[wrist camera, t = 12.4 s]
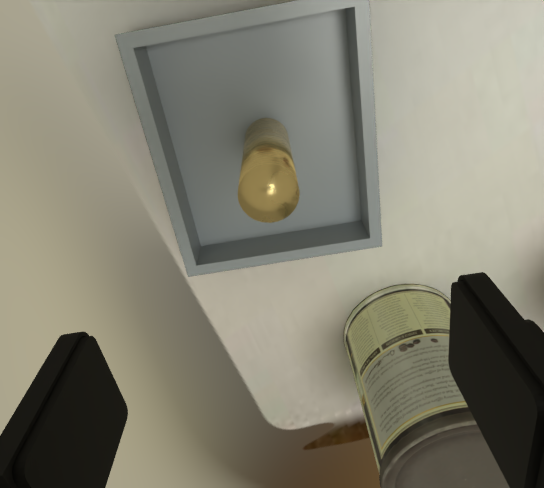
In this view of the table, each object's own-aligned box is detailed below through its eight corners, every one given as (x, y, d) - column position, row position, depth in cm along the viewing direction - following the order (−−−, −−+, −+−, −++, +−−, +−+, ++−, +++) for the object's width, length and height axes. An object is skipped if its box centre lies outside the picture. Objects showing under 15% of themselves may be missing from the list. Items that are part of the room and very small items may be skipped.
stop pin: (240, 121, 29) (231, 170, 21) (285, 114, 29) (295, 160, 20) (249, 164, 31) (243, 226, 22) (291, 157, 31) (303, 217, 22)
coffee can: (483, 316, 39) (589, 461, 26) (405, 388, 43) (465, 545, 30) (394, 261, 36) (467, 397, 23) (319, 344, 40) (347, 498, 27)
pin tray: (130, 31, 27) (114, 34, 24) (355, -11, 26) (368, -14, 23) (194, 253, 35) (188, 276, 32) (370, 224, 34) (382, 246, 31)
